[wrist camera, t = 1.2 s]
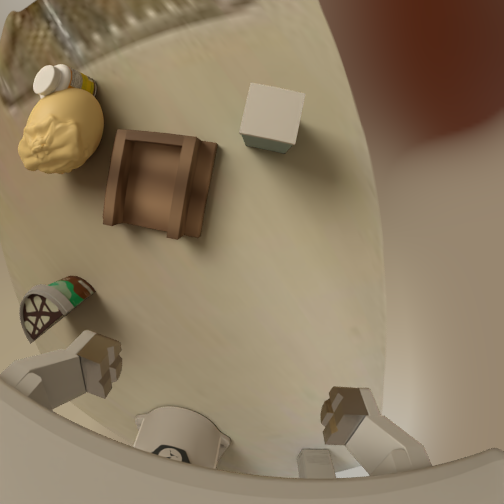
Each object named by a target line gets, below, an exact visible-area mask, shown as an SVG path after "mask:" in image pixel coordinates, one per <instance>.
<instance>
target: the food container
mask: <svg viewBox="0 0 504 504" xmlns="http://www.w3.org/2000/svg"><path fill="white" fill-rule="evenodd" d="M94 292H96V291H95V290H94V288H93V287H92V286H91V285H90V284H89V283H88V282H87V281H85V280H84V279H82V278H80V277H78V276H68V277H66V278H63V279H61V280H59V281H56V282H54V283H52V284H49V285H43V284H40V285H36V286H34V287H32V288H31V289H30V290H29V291H28V292H27V293H26V295H25V296H24V298H23V300H22V302H21V305H20V320H21V325H22V328H23V330H24V333H25V335H26V337H27V339H28V340H29V342H30V343H32V342H34V341H35V340H36V339H37V338H38V337H40V336H41V335H42V334H43V333H44V332H46V331H47V330H48V329H49V328H51V327H52V326H53V325H54V324H56V323H57V322H58V321H59V320H61V319H62V318H63V317H65V316H66V315H67V314H68V313H69V312H71V311H72V310H73V309H74V308H76V307H77V306H78V305H79V304H81V303H82V302H83V301H84V300H85V299H87V298H88V297H89V296H91V295H92V294H93V293H94Z"/></svg>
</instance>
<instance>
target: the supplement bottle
mask: <svg viewBox="0 0 504 504" xmlns="http://www.w3.org/2000/svg"><path fill="white" fill-rule="evenodd" d="M68 88H79V89H83V90H85V91H87V92H89V93H91V94H92V95H93V96H94V97H95V94H96V83H95V81H94V80H93V79H92V78H90V77H88V76H86V75H84V74H82V73H80V72H78V71H77V70H74V69H72V68H70V67H68V66H66V65H64V64H59V65H56V66H51V65H48V66H45V67H43V68H42V69H41V70H40V71H39V72H38V74H37V75H36V77H35V80H34V83H33V89H34V91H35V93H37V94H40V97H41V99H42V98H43V97H45V96H47V95H49V94H51V93H52V92H55V91H60V90H64V89H68Z"/></svg>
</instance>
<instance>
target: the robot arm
mask: <svg viewBox="0 0 504 504" xmlns="http://www.w3.org/2000/svg"><path fill="white" fill-rule="evenodd" d="M121 351H122V348H121V343H120V342H119V341H117V340H114V339H111V338H108V337H106V336H103V335H101V334H97V333H95V332H92V331H90V330H85V331H83V332H82V333H81V334H80V335H79V336H78V337H77V338H76V339H75V340H74V341H73V342H72V343H71V344H70V345H69V346H68V347H67V348H66V350H64V349H59V350H55V351H52V352H48V353H44V354H40V355H36V356H32V357H28V358H24V359H20V360H15V361H14V362H13V363H12V364H11V365H10V366H8V367H7V368H6V369H5V370H4V371H3V372H2V373H1V374H0V504H504V451H502V450H500V449H498V448H491V449H488V450H486V451H483V452H480V453H477V454H474V455H471V456H468V457H465V458H461V459H458V460H455V461H451V462H447V463H444V464H439V465H435V466H432V464H431V462H430V459H429V457H428V455H427V453H426V450H425V448H424V446H423V445H422V444H421V443H419V442H418V441H417V440H415V439H414V438H413V437H411V436H410V435H409V434H407V433H406V432H405V431H404V430H402V429H401V428H400V427H398V426H397V425H396V424H394V423H393V422H392V421H390V420H389V419H388V418H387V417H385V416H381V414H380V412H379V409H378V407H377V404H376V402H375V399H374V397H373V394H372V392H371V390H370V389H369V388H351V387H336V386H334V387H333V388H332V389H331V390H330V392H329V396H330V398H329V399H328V400H326V401H325V402H324V404H323V406H322V410H321V423H322V424H323V425H324V426H325V429H324V431H323V436H324V441H325V444H328V445H345V447H346V448H347V449H348V450H349V452H350V453H351V454H352V455H353V456H354V457H355V459H356V460H357V461H358V462H359V463H360V464H361V466H362V467H363V468H364V469H365V470H366V471H367V472H368V473H369V475H370V476H366V477H353V478H330V479H306V478H283V477H270V476H260V475H251V474H243V473H236V472H230V471H224V470H218V469H216V468H217V467H216V464H217V461H218V460H219V459H220V457H221V456H222V454H223V453H224V452H225V450H226V449H227V447H228V446H229V444H230V441H231V440H230V438H229V437H227V436H226V435H224V434H222V433H221V432H220V431H219V430H218V429H217V428H216V427H215V425H214V424H213V423H212V422H211V421H210V420H208V419H207V418H205V417H204V416H202V415H200V414H198V413H196V412H194V411H191V410H188V409H185V408H180V407H171V406H167V407H160V408H156V409H154V410H152V411H151V412H150V413H148V414H143V415H138V416H136V419H135V422H136V425H137V428H138V430H139V432H138V434H137V437H136V440H135V443H134V446H133V447H131V446H129V445H126V444H123V443H120V442H118V441H116V440H113V439H111V438H108V437H106V436H103V435H101V434H98V433H96V432H94V431H92V430H89V429H87V428H85V427H83V426H80V425H78V424H77V423H74V422H72V421H70V420H68V419H66V418H64V417H62V416H61V415H59V414H57V413H55V412H53V411H52V409H54V408H56V407H58V406H60V405H62V404H64V403H66V402H68V401H70V400H72V399H74V398H76V397H78V396H80V395H82V394H84V393H86V392H89V393H91V394H94V395H96V396H99V397H101V398H104V399H105V398H106V397H107V395H108V394H109V392H110V391H111V389H112V383H113V382H115V381H117V380H118V378H119V376H120V374H121V371H122V358H121V357H120V355H119V353H120V352H121Z"/></svg>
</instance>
